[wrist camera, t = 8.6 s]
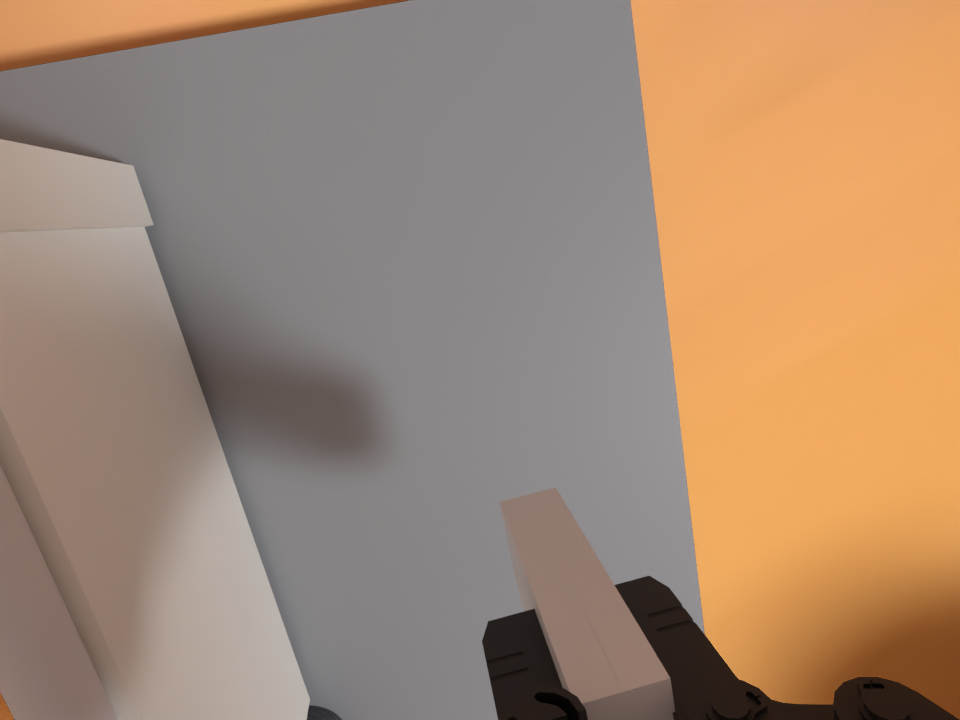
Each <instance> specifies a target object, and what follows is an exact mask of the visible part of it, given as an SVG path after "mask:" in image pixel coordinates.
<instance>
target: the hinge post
mask: <svg viewBox="0 0 960 720" xmlns="http://www.w3.org/2000/svg"><path fill="white" fill-rule="evenodd" d="M307 720H342V719H341V718H340V717H339V716H338V715H337V714H336V713H334V712H333V711H331V710H329V709H326V708H323V707H319V706H309V708H308V714H307Z"/></svg>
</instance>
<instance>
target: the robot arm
mask: <svg viewBox="0 0 960 720" xmlns="http://www.w3.org/2000/svg"><path fill="white" fill-rule="evenodd" d="M500 507H501V511H502V516H503V521H504V525H505V530H506V535H507V539H508V544H509V549H510V553H511V558H512V563H513V567H514V572H515V576H516V581H517V586H518V590H519V594H520V597H521V600H522V603H523V606H524V609H525V611H524V612H520V613H517V614H513V615H509V616H506V617H502V618H498V619H495V620H491V621H488V623H487V627H486V630H485V633H484V636H483V640H482V644H483V649H484V653H485V658H486V663H487V668H488V673H489V678H490V683H491V688H492V692H493V697H494V702H495V707H496V712H497V717H498V720H959V719H957V718H956V717H954V716H953V715H951V714H950V713H948V712H947V711H945V710H944V709H942V708H941V707H939V706H937V705H936V704H934V703H933V702H931V701H930V700H928V699H927V698H925V697H924V696H922V695H921V694H919V693H918V692H916V691H914V690H912V689H910V688H908V687H906V686H904V685H902V684H900V683H898V682H894V681H890V680H886V679H882V678H878V677H858V678H855V679H852V680H849V681H846V682H844V683H843V684H842V685H841V686H840V687H839V688H838V689H837V690H836V691H835V695H834V703H833V705H807V704H789V703H781V702H778V701H774V700H771V699H770V698H769V697H767V696H766V695H765V694H764V693H763V692H762V691H761V690H760V689H759V688H757V687H755V686H753V685H750V684H748V683H746V682H744V681H742V680H739V679H738V678H737V677H736V676H735V675H734V673H733V672H732V671H731V669H730V668H729V667H728V665H727V664H726V663H725V661H724V660H723V659H722V657H721V656H720V655H719V653H718V652H717V651H716V649H715V648H714V647H713V645H712V644H711V643H710V641H709V640H708V639H707V637H706V636H705V635H704V633H703V632H702V631H701V629H700V628H699V627H698V625H697V624H696V623H694V621H693V619H692V617H691V616H690V615H689V613H688V612H687V611H686V609H685V608H683V606H682V604H681V603H680V601H679V600H678V599H677V597H676V596H675V595H674V593H673V592H672V591H671V589H670V588H669V587H667V586H666V585H664V584H662V583H661V582H659V581H657V580H656V579H654V578H652V577H651V576H646V577H642V578H638V579H635V580H631V581H627V582H624V583H620V584H616V585H614V584H613V582H612V580H611V579H610V577H609V575H608V574H607V572H606V570H605V569H604V567H603V565H602V564H601V562H600V560H599V559H598V557H597V555H596V554H595V552H594V550H593V549H592V547H591V545H590V544H589V542H588V540H587V539H586V537H585V535H584V534H583V532H582V530H581V529H580V527H579V525H578V524H577V522H576V520H575V519H574V517H573V515H572V514H571V512H570V510H569V509H568V507H567V505H566V504H565V502H564V501H563V499H562V497H561V496H560V494H559V492H558V491H557V489H556V487H555V488H551V489H547V490H543V491H539V492H536V493H532V494H528V495H524V496H520V497H516V498H512V499H508V500H504V501H500Z"/></svg>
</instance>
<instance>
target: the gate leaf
mask: <svg viewBox="0 0 960 720" xmlns="http://www.w3.org/2000/svg"><path fill="white" fill-rule="evenodd" d="M151 225H154V224H153V221H152V218H151V216H150V213H149V210H148V207H147V204H146V201H145V198H144V195H143V192H142V190H141V187H140V184H139V181H138V178H137V175H136V172H135V169H134V166H133V165H128V164H123V163H118V162H113V161H108V160H103V159H98V158H93V157H88V156H83V155H78V154H73V153H68V152H63V151H58V150H53V149H48V148H43V147H38V146H33V145H28V144H23V143H18V142H13V141H8V140H3V139H0V693H1V695H2V697H3V699H4V701H5V702H6V704H7V706H8V708H9V710H10V712H11V714H12V716H13V718H14V720H307V714H308V708H309V702H310V698H309V695H308V692H307V689H306V686H305V684H304V681H303V678H302V675H301V672H300V669H299V666H298V664H297V661H296V658H295V655H294V652H293V649H292V646H291V644H290V641H289V638H288V635H287V632H286V629H285V626H284V624H283V621H282V618H281V615H280V612H279V609H278V606H277V604H276V601H275V598H274V595H273V592H272V589H271V586H270V584H269V581H268V578H267V575H266V572H265V569H264V566H263V564H262V561H261V558H260V555H259V552H258V549H257V546H256V544H255V541H254V538H253V535H252V532H251V529H250V527H249V524H248V521H247V518H246V515H245V512H244V509H243V507H242V504H241V501H240V498H239V495H238V492H237V489H236V487H235V484H234V481H233V478H232V475H231V472H230V469H229V467H228V464H227V461H226V458H225V455H224V452H223V449H222V447H221V444H220V441H219V438H218V435H217V432H216V429H215V427H214V424H213V421H212V418H211V415H210V412H209V409H208V407H207V404H206V401H205V398H204V395H203V392H202V389H201V387H200V384H199V381H198V378H197V375H196V372H195V369H194V367H193V364H192V361H191V358H190V355H189V352H188V349H187V347H186V344H185V341H184V338H183V335H182V332H181V329H180V327H179V324H178V321H177V318H176V315H175V312H174V309H173V307H172V304H171V301H170V298H169V295H168V292H167V289H166V287H165V284H164V281H163V278H162V275H161V272H160V270H159V267H158V264H157V261H156V258H155V255H154V252H153V250H152V247H151V244H150V241H149V238H148V235H147V232H146V230H145V227H147V226H151Z"/></svg>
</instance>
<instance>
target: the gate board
mask: <svg viewBox="0 0 960 720" xmlns="http://www.w3.org/2000/svg"><path fill="white" fill-rule="evenodd" d="M0 139H3V140H8V141H13V142H18V143H23V144H28V145H33V146H38V147H43V148H48V149H53V150H58V151H63V152H68V153H73V154H78V155H83V156H88V157H93V158H98V159H103V160H108V161H113V162H118V163H123V164H128V165H133V166H134V169H135V172H136V175H137V178H138V181H139V184H140V187H141V190H142V192H143V195H144V198H145V201H146V204H147V207H148V210H149V213H150V216H151V218H152V221H153V224H154V225H151V226H147V227H145V230H146V232H147V235H148V238H149V241H150V244H151V247H152V250H153V252H154V255H155V258H156V261H157V264H158V267H159V270H160V272H161V275H162V278H163V281H164V284H165V287H166V289H167V292H168V295H169V298H170V301H171V304H172V307H173V309H174V312H175V315H176V318H177V321H178V324H179V327H180V329H181V332H182V335H183V338H184V341H185V344H186V347H187V349H188V352H189V355H190V358H191V361H192V364H193V367H194V369H195V372H196V375H197V378H198V381H199V384H200V387H201V389H202V392H203V395H204V398H205V401H206V404H207V407H208V409H209V412H210V415H211V418H212V421H213V424H214V427H215V429H216V432H217V435H218V438H219V441H220V444H221V447H222V449H223V452H224V455H225V458H226V461H227V464H228V467H229V469H230V472H231V475H232V478H233V481H234V484H235V487H236V489H237V492H238V495H239V498H240V501H241V504H242V507H243V509H244V512H245V515H246V518H247V521H248V524H249V527H250V529H251V532H252V535H253V538H254V541H255V544H256V546H257V549H258V552H259V555H260V558H261V561H262V564H263V566H264V569H265V572H266V575H267V578H268V581H269V584H270V586H271V589H272V592H273V595H274V598H275V601H276V604H277V606H278V609H279V612H280V615H281V618H282V621H283V624H284V626H285V629H286V632H287V635H288V638H289V641H290V644H291V646H292V649H293V652H294V655H295V658H296V661H297V664H298V666H299V669H300V672H301V675H302V678H303V681H304V684H305V686H306V689H307V692H308V695H309V698H310V702H309V706H319V707H323V708H326V709H329V710H331V711H333V712H334V713H336V714H337V715H338V716H339V717H340V718H341V719H342V720H498V717H497V712H496V707H495V702H494V697H493V692H492V688H491V683H490V678H489V673H488V668H487V663H486V658H485V653H484V649H483V644H482V640H483V636H484V633H485V630H486V627H487V623H488V621H491V620H495V619H498V618H502V617H506V616H509V615H513V614H517V613H520V612H524V611H525V609H524V606H523V603H522V600H521V597H520V594H519V590H518V586H517V581H516V576H515V572H514V567H513V563H512V558H511V553H510V549H509V544H508V539H507V535H506V530H505V525H504V521H503V516H502V511H501V507H500V501H504V500H508V499H512V498H516V497H520V496H524V495H528V494H532V493H536V492H539V491H543V490H547V489H551V488H555V487H556V489H557V491H558V492H559V494H560V496H561V497H562V499H563V501H564V502H565V504H566V505H567V507H568V509H569V510H570V512H571V514H572V515H573V517H574V519H575V520H576V522H577V524H578V525H579V527H580V529H581V530H582V532H583V534H584V535H585V537H586V539H587V540H588V542H589V544H590V545H591V547H592V549H593V550H594V552H595V554H596V555H597V557H598V559H599V560H600V562H601V564H602V565H603V567H604V569H605V570H606V572H607V574H608V575H609V577H610V579H611V580H612V582H613V584H614V585H616V584H620V583H624V582H627V581H631V580H635V579H638V578H642V577H646V576H651V577H652V578H654V579H656V580H657V581H659V582H661V583H662V584H664V585H666V586H667V587H669V588H670V589H671V591H672V592H673V593H674V595H675V596H676V597H677V599H678V600H679V601H680V603H681V604H682V606H683V608H685V609H686V611H687V612H688V613H689V615H690V616H691V617H692V619H693V621H694V623H696V624H697V625H698V627H699V628H700V629H701V631H702V632H703V633H704V625H703V616H702V608H701V599H700V591H699V582H698V574H697V565H696V557H695V548H694V539H693V531H692V522H691V514H690V505H689V497H688V488H687V480H686V471H685V463H684V454H683V446H682V437H681V428H680V420H679V411H678V403H677V394H676V386H675V377H674V369H673V360H672V352H671V343H670V334H669V326H668V317H667V309H666V300H665V292H664V283H663V275H662V266H661V258H660V249H659V241H658V232H657V223H656V215H655V206H654V198H653V189H652V181H651V172H650V164H649V155H648V147H647V138H646V130H645V121H644V112H643V104H642V95H641V87H640V78H639V70H638V61H637V53H636V44H635V36H634V27H633V19H632V10H631V1H630V0H410V1H404V2H399V3H393V4H387V5H381V6H376V7H370V8H364V9H358V10H352V11H347V12H341V13H335V14H329V15H324V16H318V17H312V18H306V19H300V20H295V21H289V22H283V23H277V24H272V25H266V26H260V27H254V28H248V29H243V30H237V31H231V32H225V33H220V34H214V35H208V36H202V37H196V38H191V39H185V40H179V41H173V42H168V43H162V44H156V45H150V46H145V47H139V48H133V49H127V50H121V51H116V52H110V53H104V54H98V55H93V56H87V57H81V58H75V59H69V60H64V61H58V62H52V63H46V64H41V65H35V66H29V67H23V68H17V69H12V70H6V71H0ZM704 635H705V633H704Z"/></svg>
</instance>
